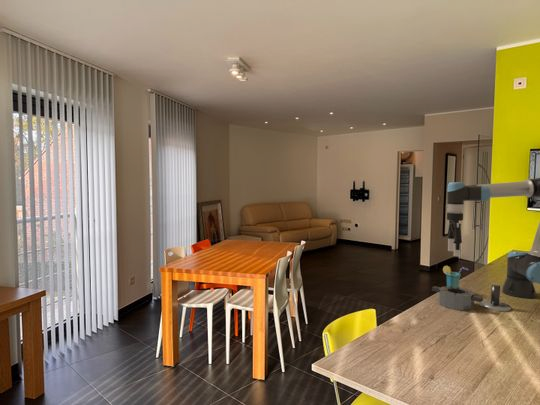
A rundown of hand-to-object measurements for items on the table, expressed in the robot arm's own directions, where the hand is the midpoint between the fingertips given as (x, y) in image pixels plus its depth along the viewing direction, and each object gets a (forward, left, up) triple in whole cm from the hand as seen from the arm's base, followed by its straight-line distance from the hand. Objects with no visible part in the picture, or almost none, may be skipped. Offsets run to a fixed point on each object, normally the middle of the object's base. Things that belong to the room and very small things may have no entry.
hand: (453, 253), depth 188 cm
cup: (-4, -10, -24) cm, 26 cm away
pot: (0, +10, -24) cm, 26 cm away
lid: (-18, +8, -24) cm, 30 cm away
